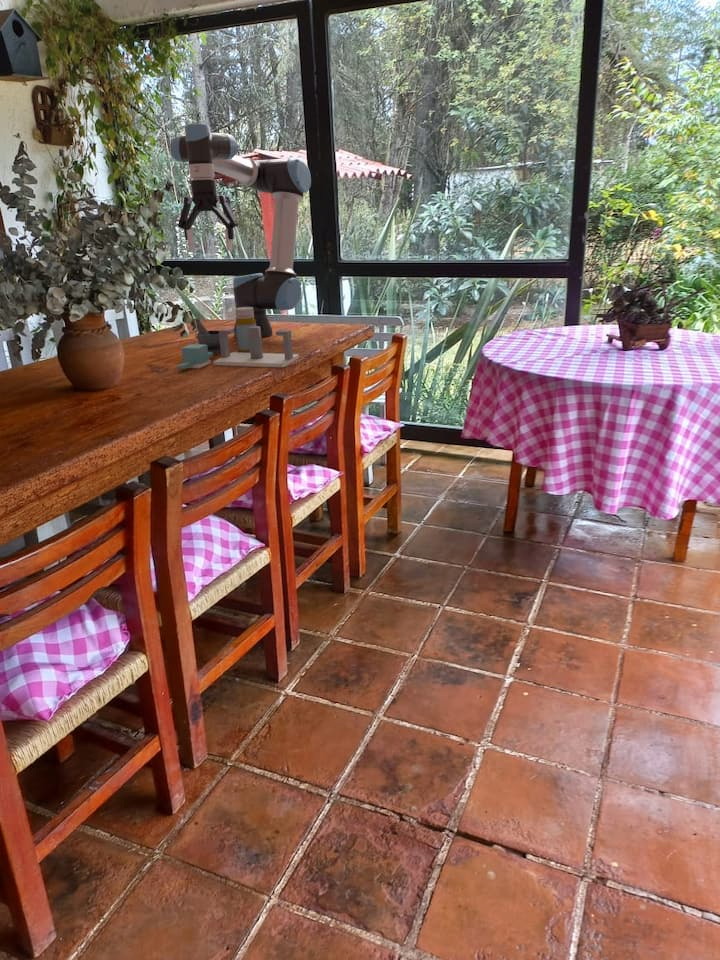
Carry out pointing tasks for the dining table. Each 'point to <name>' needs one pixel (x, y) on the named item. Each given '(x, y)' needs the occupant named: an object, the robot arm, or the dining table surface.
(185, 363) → the teal cube with tabs
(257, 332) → the white and grey stand
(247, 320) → the bottle
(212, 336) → the mortar and pestle
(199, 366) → the tile
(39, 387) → the dining table surface
